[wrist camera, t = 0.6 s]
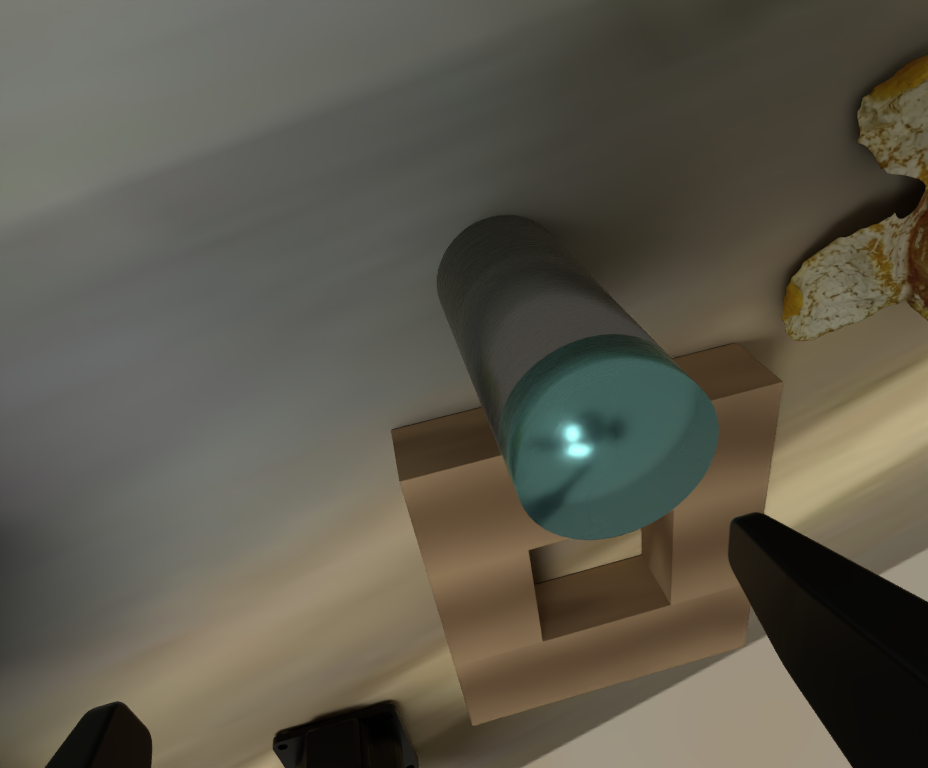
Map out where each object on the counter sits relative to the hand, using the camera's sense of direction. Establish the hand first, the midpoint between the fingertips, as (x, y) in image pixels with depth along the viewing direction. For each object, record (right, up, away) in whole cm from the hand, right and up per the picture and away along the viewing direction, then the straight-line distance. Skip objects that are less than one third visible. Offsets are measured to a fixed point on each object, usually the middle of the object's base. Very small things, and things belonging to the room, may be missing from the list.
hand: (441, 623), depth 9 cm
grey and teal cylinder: (+2, +7, +12) cm, 14 cm away
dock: (+6, -3, +19) cm, 21 cm away
